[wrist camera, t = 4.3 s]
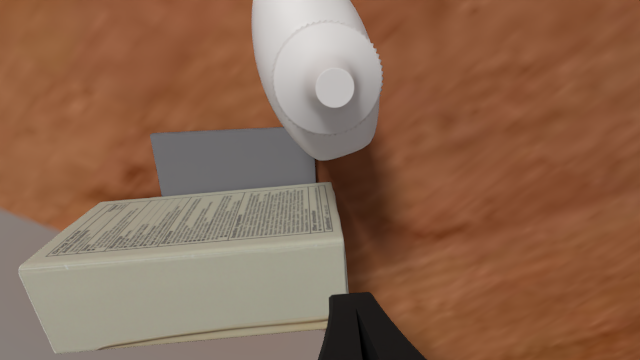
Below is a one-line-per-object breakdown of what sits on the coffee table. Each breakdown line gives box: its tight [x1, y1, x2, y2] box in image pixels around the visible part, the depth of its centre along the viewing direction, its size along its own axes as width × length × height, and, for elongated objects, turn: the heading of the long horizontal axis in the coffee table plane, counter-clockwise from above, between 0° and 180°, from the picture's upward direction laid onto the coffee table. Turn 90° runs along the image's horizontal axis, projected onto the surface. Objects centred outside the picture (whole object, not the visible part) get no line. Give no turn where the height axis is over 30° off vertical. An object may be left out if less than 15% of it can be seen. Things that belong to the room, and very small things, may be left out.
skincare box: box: [19, 182, 349, 354], centre depth 17 cm, size 6×4×12 cm
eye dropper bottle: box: [252, 0, 384, 160], centre depth 12 cm, size 4×6×12 cm
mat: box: [150, 127, 316, 197], centre depth 19 cm, size 6×8×1 cm
